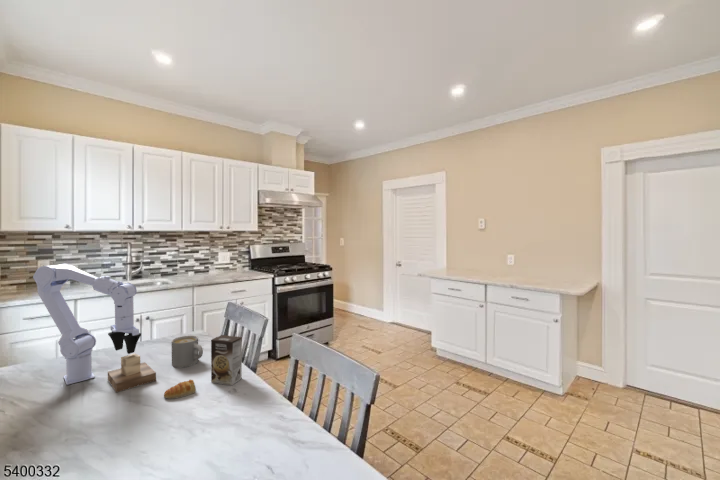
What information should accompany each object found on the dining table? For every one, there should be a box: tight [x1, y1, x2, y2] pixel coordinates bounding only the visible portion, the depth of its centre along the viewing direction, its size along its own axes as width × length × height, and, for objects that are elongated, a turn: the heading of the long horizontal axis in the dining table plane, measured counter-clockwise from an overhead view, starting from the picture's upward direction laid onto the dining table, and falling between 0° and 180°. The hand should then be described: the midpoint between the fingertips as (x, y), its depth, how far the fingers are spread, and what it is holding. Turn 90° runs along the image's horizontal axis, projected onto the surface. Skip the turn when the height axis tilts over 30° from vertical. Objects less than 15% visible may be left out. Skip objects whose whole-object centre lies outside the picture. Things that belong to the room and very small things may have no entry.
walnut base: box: [107, 361, 157, 393], centre depth 120 cm, size 14×12×3 cm
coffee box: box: [210, 334, 243, 386], centre depth 120 cm, size 9×6×16 cm
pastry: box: [163, 379, 197, 400], centre depth 111 cm, size 9×7×4 cm
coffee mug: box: [171, 335, 204, 369], centre depth 136 cm, size 13×10×10 cm
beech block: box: [120, 352, 141, 376], centre depth 120 cm, size 4×4×6 cm
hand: (124, 351), depth 123 cm, fingers open, 7 cm apart
